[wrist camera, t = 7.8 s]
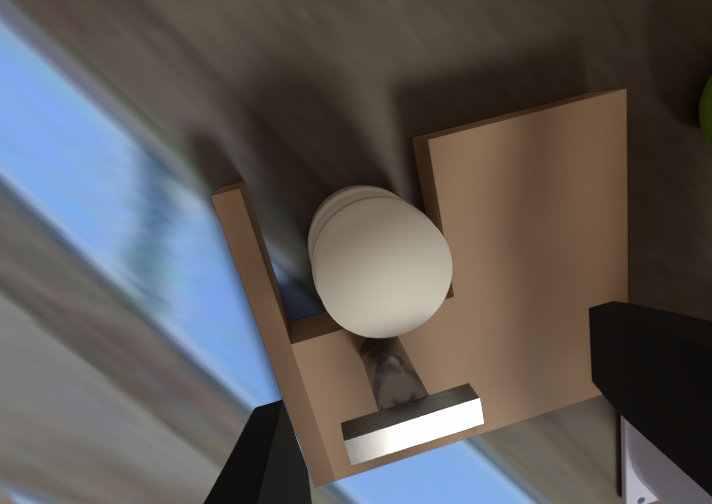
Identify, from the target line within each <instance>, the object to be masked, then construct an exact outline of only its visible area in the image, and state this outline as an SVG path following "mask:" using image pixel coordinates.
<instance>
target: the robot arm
mask: <svg viewBox="0 0 712 504" xmlns="http://www.w3.org/2000/svg"><path fill="white" fill-rule="evenodd" d="M589 330H590V353H591V375H592V382H593V383H594V384H595V386H596V387H597V388H598V389H599V390H600V391H601V393H602V394H603V395H604V396H605V397H606V399H607V400H608V401H609V402H610V403H611V404H612V405H613V406H614V408H615V409H616V410H617V411H618V412H619V413H620V414H621V467H622V502H623V504H648V503H651V502H653V501H656V500H659V501H660V502H661V503H662V504H712V322H711V321H707V320H703V319H698V318H694V317H690V316H685V315H681V314H677V313H672V312H668V311H663V310H659V309H654V308H650V307H645V306H640V305H635V304H630V303H624V302H617V301H611V302H607V303H604V304H601V305H597V306H594V307H591V308H589ZM204 504H312V501H311V493H310V485H309V476H308V470H307V467H306V464H305V461H304V458H303V456H302V453H301V450H300V447H299V444H298V441H297V439H296V436H295V433H294V430H293V427H292V424H291V422H290V419H289V416H288V413H287V410H286V407H285V405H284V402H283V400H279V401H276V402H273V403H269V404H266V405H263V406H259V407H256V408H255V409H254V410H253V412H252V414H251V416H250V418H249V420H248V421H247V423H246V425H245V427H244V429H243V431H242V433H241V435H240V437H239V439H238V441H237V443H236V445H235V447H234V449H233V451H232V453H231V455H230V456H229V458H228V460H227V462H226V464H225V466H224V468H223V470H222V471H221V473H220V475H219V477H218V479H217V480H216V482H215V484H214V486H213V488H212V489H211V491H210V493H209V495H208V497H207V498H206V500H205V502H204Z"/></svg>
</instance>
